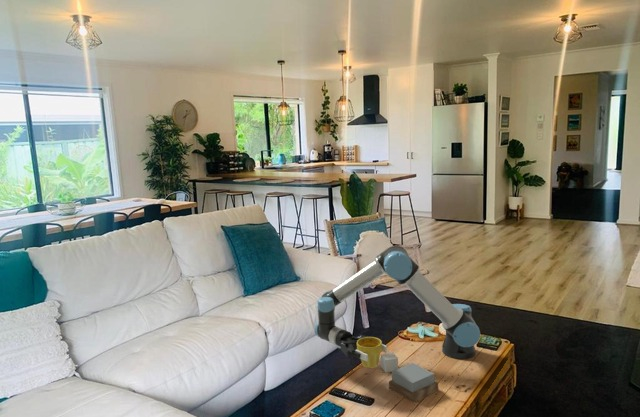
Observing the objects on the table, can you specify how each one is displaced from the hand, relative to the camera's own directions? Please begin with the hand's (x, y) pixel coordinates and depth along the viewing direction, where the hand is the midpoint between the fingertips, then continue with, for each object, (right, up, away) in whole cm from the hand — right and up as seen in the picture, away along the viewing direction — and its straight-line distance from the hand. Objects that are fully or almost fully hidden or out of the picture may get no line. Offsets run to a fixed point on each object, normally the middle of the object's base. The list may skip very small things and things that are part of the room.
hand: (376, 353), depth 186 cm
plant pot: (-2, -6, +4) cm, 8 cm away
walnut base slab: (+15, -16, +2) cm, 22 cm away
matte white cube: (+8, -13, +20) cm, 26 cm away
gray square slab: (+15, -12, +1) cm, 19 cm away
